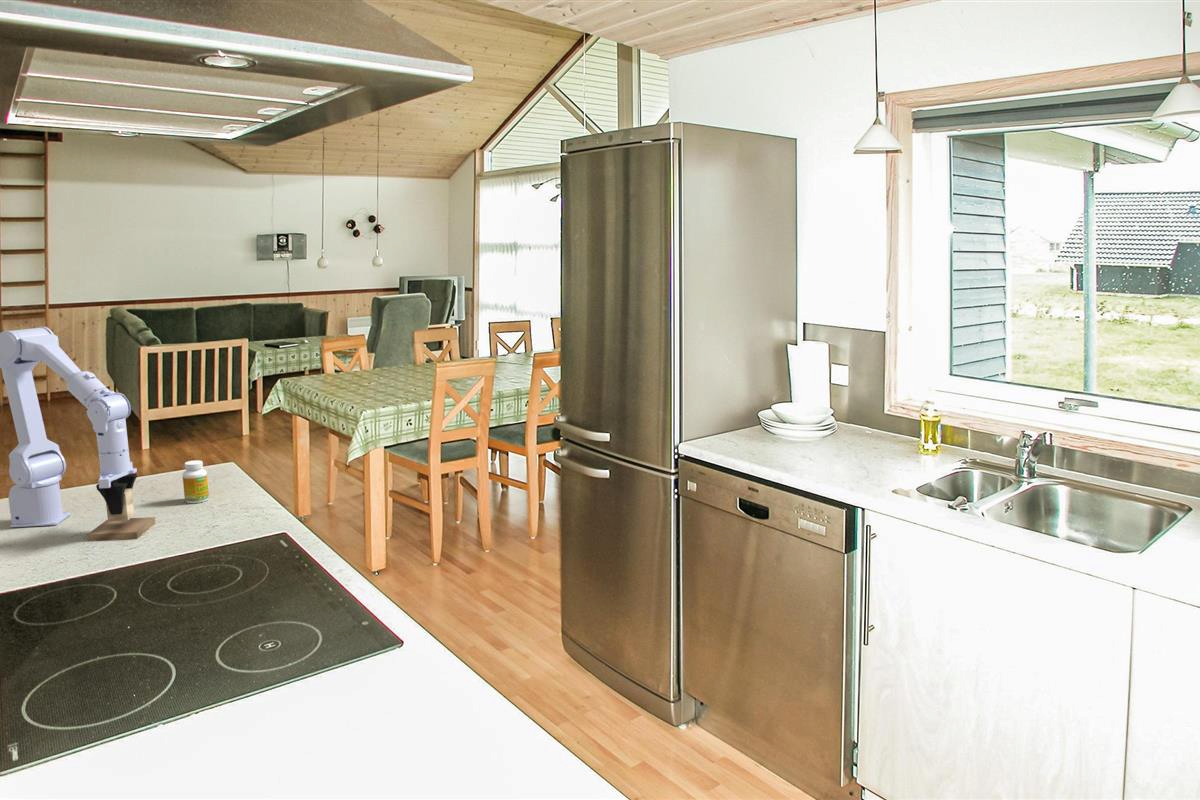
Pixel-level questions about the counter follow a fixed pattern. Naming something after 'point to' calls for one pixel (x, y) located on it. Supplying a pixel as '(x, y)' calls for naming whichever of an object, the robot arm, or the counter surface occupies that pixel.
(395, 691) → the counter surface
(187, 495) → the supplement bottle
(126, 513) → the birch block
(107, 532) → the walnut block
